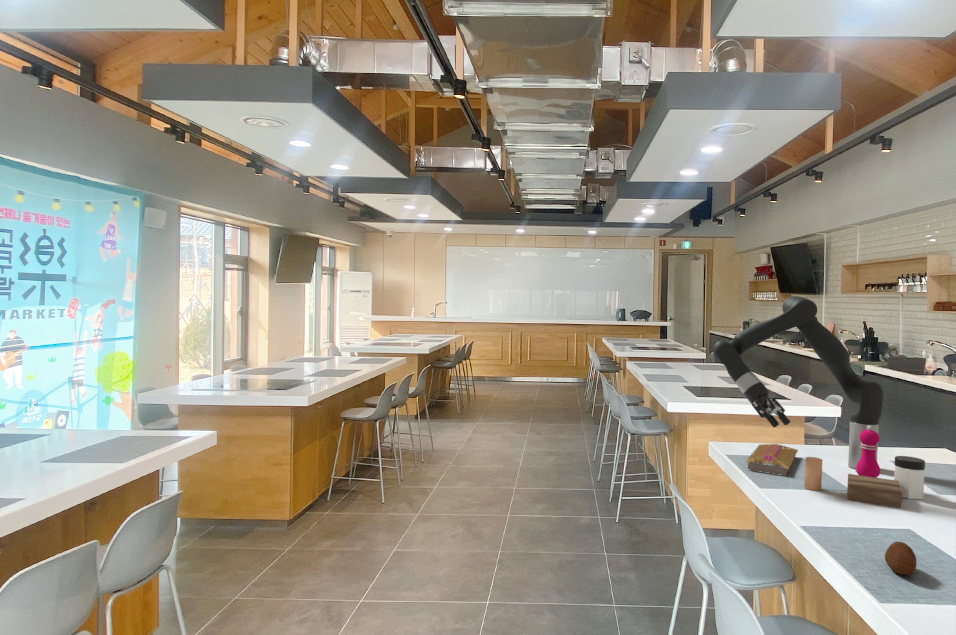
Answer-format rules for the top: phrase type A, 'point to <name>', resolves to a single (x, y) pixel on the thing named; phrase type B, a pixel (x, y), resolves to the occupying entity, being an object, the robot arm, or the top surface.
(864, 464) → the pepper mill
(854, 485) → the base block
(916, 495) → the jar
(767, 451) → the slab with pink ridge
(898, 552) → the potato
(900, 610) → the top surface
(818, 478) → the post
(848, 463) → the robot arm
